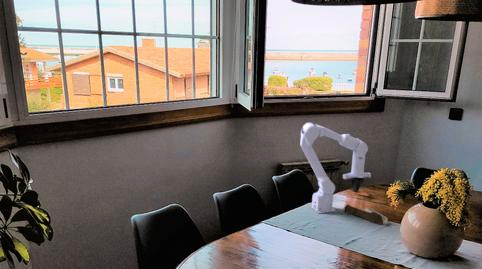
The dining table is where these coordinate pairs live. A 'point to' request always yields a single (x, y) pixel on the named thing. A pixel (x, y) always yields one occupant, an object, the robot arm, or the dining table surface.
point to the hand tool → (364, 214)
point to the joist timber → (377, 213)
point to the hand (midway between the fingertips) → (355, 191)
